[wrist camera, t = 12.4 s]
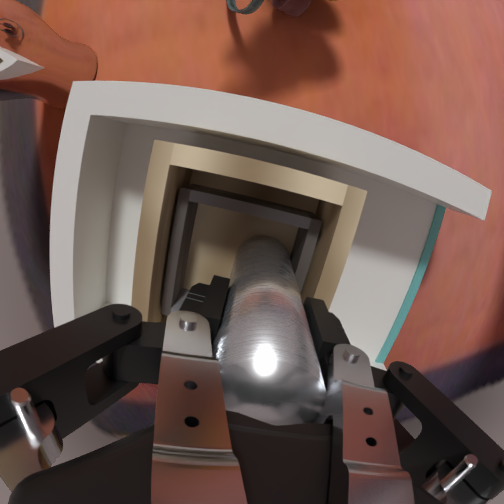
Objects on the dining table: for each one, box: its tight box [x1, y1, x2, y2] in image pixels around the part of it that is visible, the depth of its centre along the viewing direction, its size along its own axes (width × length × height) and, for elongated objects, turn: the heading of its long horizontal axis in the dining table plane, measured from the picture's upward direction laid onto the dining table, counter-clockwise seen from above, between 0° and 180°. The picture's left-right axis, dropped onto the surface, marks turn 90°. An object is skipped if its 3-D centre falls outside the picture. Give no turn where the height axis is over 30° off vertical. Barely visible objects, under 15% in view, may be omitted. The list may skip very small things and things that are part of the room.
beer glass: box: [0, 0, 97, 108], centre depth 11 cm, size 7×7×15 cm
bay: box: [50, 81, 492, 371], centre depth 19 cm, size 26×18×6 cm
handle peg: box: [212, 235, 327, 426], centre depth 13 cm, size 3×3×12 cm
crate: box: [131, 140, 367, 322], centre depth 17 cm, size 10×12×6 cm
